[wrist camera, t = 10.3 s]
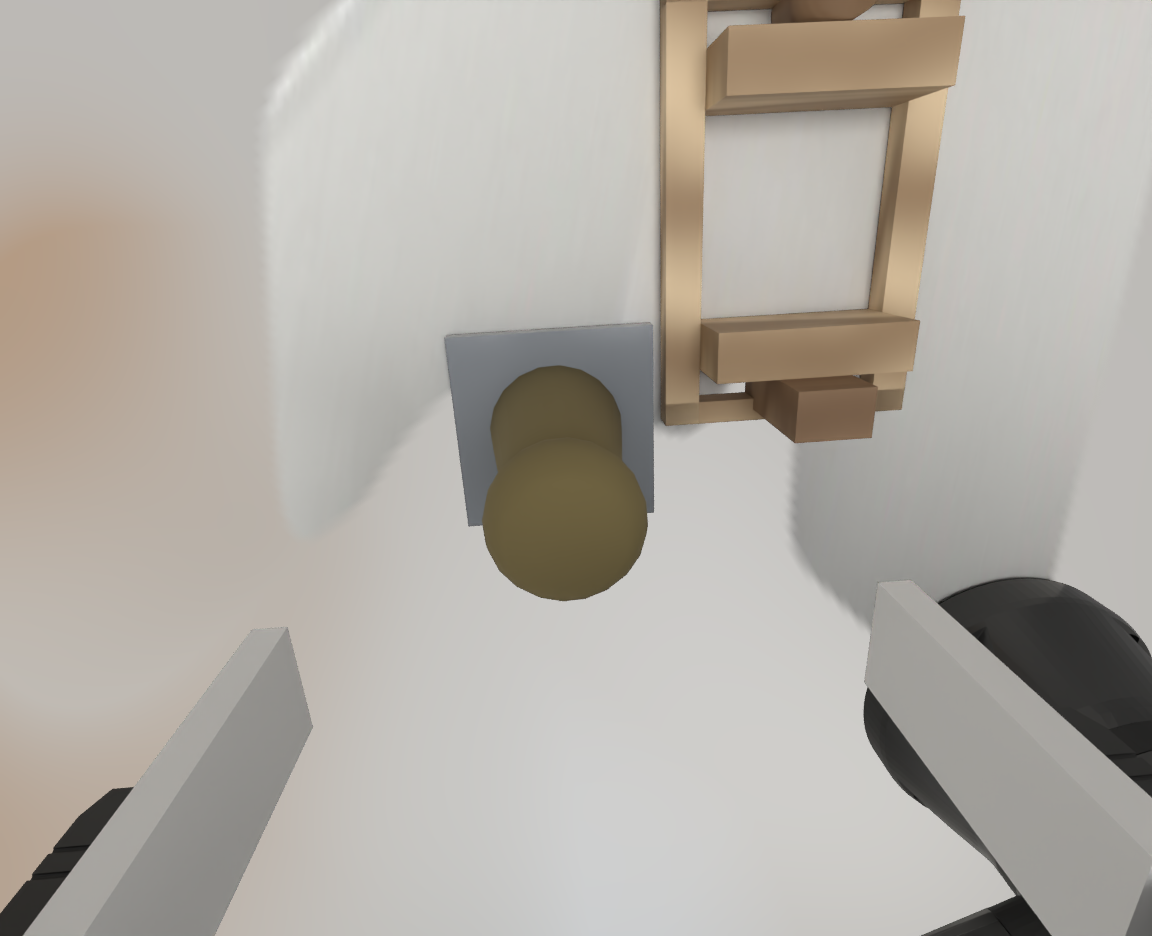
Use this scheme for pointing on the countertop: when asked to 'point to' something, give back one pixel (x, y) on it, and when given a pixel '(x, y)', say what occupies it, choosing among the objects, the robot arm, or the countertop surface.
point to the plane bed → (888, 327)
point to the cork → (561, 487)
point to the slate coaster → (504, 356)
